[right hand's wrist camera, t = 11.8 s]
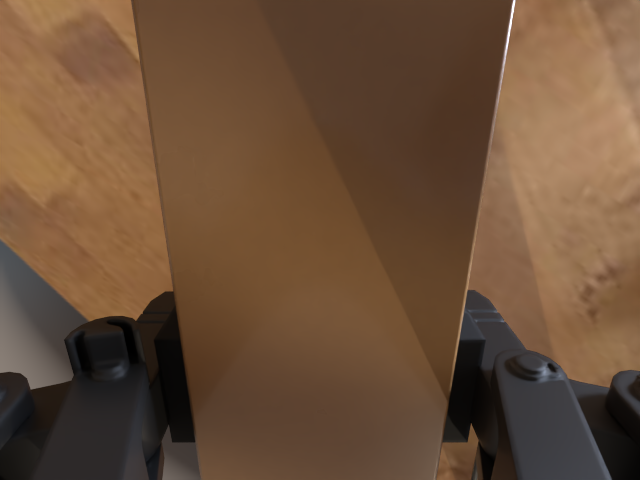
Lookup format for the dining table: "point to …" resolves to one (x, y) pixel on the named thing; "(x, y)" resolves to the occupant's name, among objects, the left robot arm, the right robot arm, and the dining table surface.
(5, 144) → the dining table surface
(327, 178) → the post
